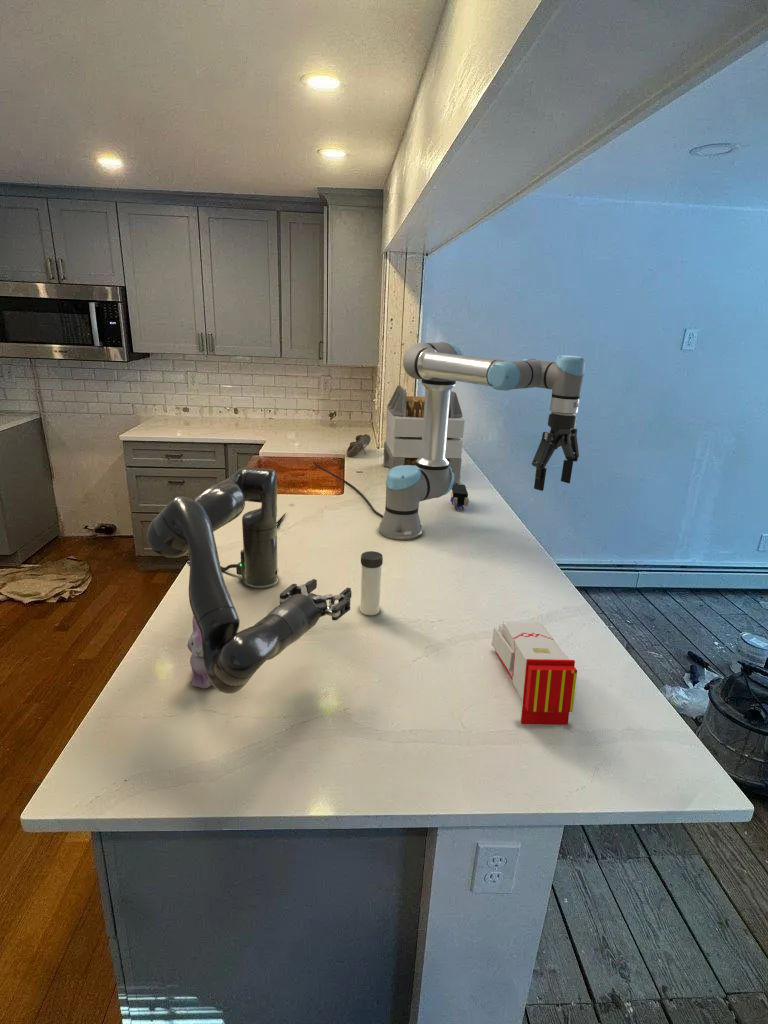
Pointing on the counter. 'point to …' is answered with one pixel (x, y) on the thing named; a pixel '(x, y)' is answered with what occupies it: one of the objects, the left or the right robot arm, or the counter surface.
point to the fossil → (358, 445)
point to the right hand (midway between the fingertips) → (552, 485)
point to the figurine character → (459, 496)
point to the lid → (371, 559)
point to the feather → (280, 520)
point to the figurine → (197, 659)
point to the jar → (370, 590)
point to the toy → (537, 671)
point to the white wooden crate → (419, 431)
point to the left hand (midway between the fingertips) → (332, 587)
